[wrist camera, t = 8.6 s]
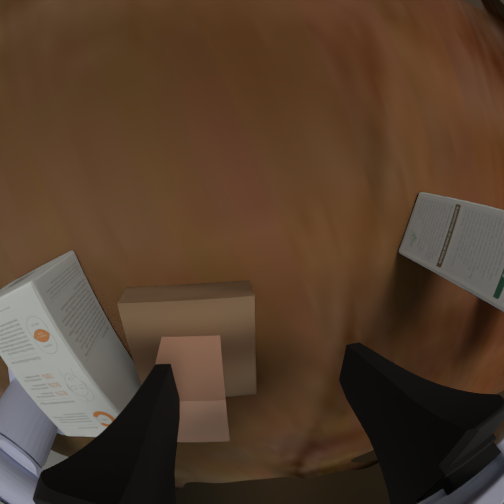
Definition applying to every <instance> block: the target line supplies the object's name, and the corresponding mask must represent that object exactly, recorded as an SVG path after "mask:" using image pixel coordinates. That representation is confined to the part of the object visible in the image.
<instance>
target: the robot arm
mask: <svg viewBox="0 0 504 504" xmlns="http://www.w3.org/2000/svg"><path fill="white" fill-rule="evenodd" d="M8 371H9V379H10V385H9V386H8V388H7V389H6V391H5V392H4V394H3V395H2V397H1V398H0V501H1V502H3V503H4V504H176V498H175V476H174V469H175V456H176V447H177V438H178V430H179V421H180V398H179V394H178V391H177V387H176V383H175V379H174V375H173V371H172V367H171V364H156V365H155V366H154V367H153V368H152V370H151V371H150V373H149V375H148V376H147V378H146V379H145V381H144V382H143V384H142V385H141V387H140V388H139V389H138V391H137V392H136V393H135V395H134V396H133V398H132V399H131V400H130V402H129V403H128V404H127V405H126V407H125V408H124V409H123V410H122V411H121V413H120V414H119V415H118V416H117V417H116V418H115V420H114V421H113V422H112V423H111V424H110V425H109V426H108V427H107V428H106V429H105V430H104V431H103V432H102V433H101V434H99V435H98V436H97V437H96V438H95V439H94V440H93V441H91V442H90V443H89V444H88V445H86V446H85V447H84V448H82V449H81V450H79V451H78V452H76V453H75V454H73V455H72V456H70V457H69V458H67V459H65V460H64V461H62V462H60V463H58V464H56V465H54V466H52V467H50V468H48V469H46V470H43V469H42V467H43V466H44V465H45V463H46V460H47V458H48V455H49V452H50V450H51V447H52V444H53V442H54V439H55V437H56V434H57V433H59V434H61V435H64V433H63V432H62V431H61V430H60V429H59V428H58V427H57V426H56V425H55V424H54V423H53V422H52V421H51V420H50V419H49V418H48V417H47V415H46V414H45V413H44V412H43V411H42V410H41V409H40V408H39V406H38V405H37V404H36V403H35V402H34V401H33V399H32V398H31V397H30V396H29V394H28V393H27V392H26V391H25V389H24V388H23V387H22V386H21V384H20V383H19V382H18V380H17V379H16V377H15V376H14V375H13V373H12V372H11V370H10V369H9V368H8ZM339 381H340V383H341V386H342V389H343V391H344V394H345V396H346V398H347V400H348V402H349V404H350V406H351V407H352V409H353V411H354V413H355V414H356V416H357V418H358V420H359V421H360V423H361V425H362V427H363V428H364V430H365V432H366V434H367V435H368V437H369V439H370V441H371V444H372V446H373V449H374V451H375V454H376V456H377V459H378V462H379V464H380V467H381V470H382V473H383V476H384V480H385V483H386V486H387V490H388V495H389V499H390V503H391V504H502V503H503V502H504V438H503V439H502V440H501V441H500V442H499V443H498V444H497V445H495V444H494V441H495V440H496V437H495V436H494V434H493V433H494V432H495V430H496V429H497V428H498V426H499V425H500V424H501V422H502V421H503V420H504V399H503V398H502V397H501V396H500V395H495V394H479V393H472V392H466V391H461V390H457V389H453V388H449V387H446V386H442V385H439V384H436V383H434V382H431V381H429V380H426V379H424V378H421V377H419V376H417V375H415V374H413V373H411V372H409V371H407V370H405V369H403V368H401V367H400V366H398V365H396V364H394V363H393V362H391V361H389V360H388V359H386V358H384V357H383V356H381V355H379V354H378V353H376V352H374V351H373V350H371V349H369V348H368V347H366V346H364V345H363V344H361V343H354V344H349V345H346V350H345V355H344V360H343V365H342V369H341V374H340V378H339Z"/></svg>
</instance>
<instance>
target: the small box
mask: <svg viewBox="0 0 504 504" xmlns="http://www.w3.org/2000/svg"><path fill="white" fill-rule="evenodd" d="M0 356H1V357H2V359H3V360H4V362H5V363H6V365H7V366H8V368H9V369H10V370H11V372H12V373H13V375H14V376H15V377H16V379H17V380H18V382H19V383H20V384H21V386H22V387H23V388H24V389H25V391H26V392H27V393H28V394H29V396H30V397H31V398H32V399H33V401H34V402H35V403H36V404H37V405H38V406H39V408H40V409H41V410H42V411H43V412H44V413H45V414H46V415H47V417H48V418H49V419H50V420H51V421H52V422H53V423H54V424H55V425H56V426H57V427H58V428H59V429H60V430H61V431H62V432H63V433H64V434H65V435H66V436H88V437H97V436H98V435H99V434H101V433H102V432H103V431H104V430H105V429H106V428H107V427H108V426H109V425H110V424H111V423H112V422H113V421H114V420H115V418H116V417H117V416H118V415H119V414H120V413H121V411H122V410H123V409H124V408H125V407H126V405H127V404H128V403H129V402H130V400H131V399H132V398H133V396H134V395H135V393H136V392H137V391H138V389H139V388H140V387H141V382H140V379H139V377H138V374H137V371H136V368H135V365H134V362H133V360H132V358H131V357H130V355H129V354H128V352H127V351H126V349H125V347H124V346H123V344H122V342H121V341H120V339H119V338H118V336H117V334H116V333H115V331H114V329H113V328H112V326H111V324H110V322H109V320H108V319H107V317H106V315H105V313H104V311H103V310H102V308H101V306H100V304H99V302H98V300H97V298H96V296H95V294H94V292H93V291H92V289H91V287H90V284H89V282H88V280H87V278H86V276H85V274H84V272H83V270H82V268H81V265H80V263H79V261H78V259H77V256H76V254H75V252H74V251H73V250H72V251H69V252H67V253H66V254H64V255H62V256H60V257H58V258H56V259H54V260H52V261H50V262H48V263H46V264H44V265H42V266H40V267H38V268H37V269H35V270H33V271H31V272H29V273H28V274H26V275H24V276H22V277H20V278H18V279H16V280H14V281H13V282H11V283H10V284H8V285H7V286H5V287H3V288H2V289H1V290H0Z"/></svg>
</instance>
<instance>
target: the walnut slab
mask: <svg viewBox="0 0 504 504" xmlns="http://www.w3.org/2000/svg"><path fill="white" fill-rule="evenodd" d="M117 304H118V309H119V313H120V317H121V321H122V324H123V328H124V332H125V335H126V339H127V342H128V346H129V349H130V352H131V355H132V359H133V362H134V365H135V368H136V371H137V374H138V377H139V379H140V382H141V385H142V384H143V382H144V381H145V379H146V378H147V376H148V375H149V373H150V371H151V370H152V368H153V367H154V366H155V363H156V359H157V354H158V350H159V346H160V342H161V338H162V337H184V336H215V335H220V339H221V352H222V365H223V376H224V387H225V397H231V396H242V395H252V394H256V346H255V299H254V293H253V290H252V287H251V284H250V281H249V280H248V281H234V282H219V283H204V284H187V285H169V286H149V287H127V288H126V290H125V291H124V293H123V295H122V296H121V298H120V299H119V301H118V303H117Z"/></svg>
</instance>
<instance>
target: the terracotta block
mask: <svg viewBox="0 0 504 504" xmlns="http://www.w3.org/2000/svg"><path fill="white" fill-rule="evenodd" d="M156 364H171V367H172V371H173V375H174V379H175V383H176V387H177V391H178V394H179V398H180V421H179V430H178V438H177V442H221V441H230V440H229V430H228V419H227V409H226V398H225V387H224V376H223V365H222V352H221V339H220V335H215V336H184V337H162V338H161V342H160V346H159V350H158V354H157V359H156V363H155V365H156Z"/></svg>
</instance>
